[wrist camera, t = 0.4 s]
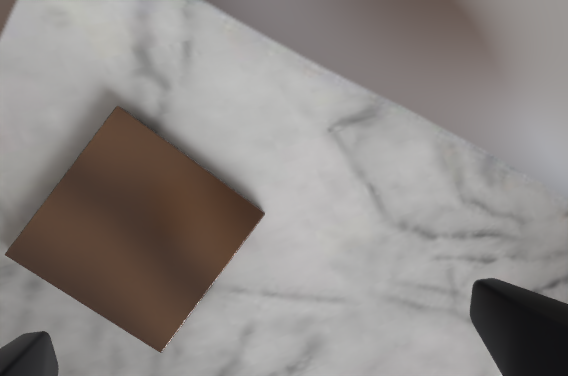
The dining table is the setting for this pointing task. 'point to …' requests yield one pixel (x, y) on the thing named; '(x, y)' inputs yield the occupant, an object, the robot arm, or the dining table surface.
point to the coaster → (136, 230)
